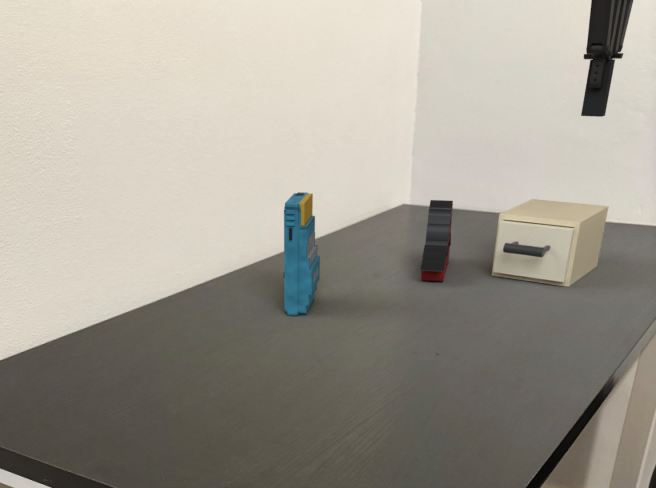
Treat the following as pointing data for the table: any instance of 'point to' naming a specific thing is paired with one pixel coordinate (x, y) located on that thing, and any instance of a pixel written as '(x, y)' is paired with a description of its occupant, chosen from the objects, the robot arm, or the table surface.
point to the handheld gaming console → (300, 254)
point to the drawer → (533, 250)
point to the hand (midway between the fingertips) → (593, 115)
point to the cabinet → (575, 215)
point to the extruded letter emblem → (437, 241)
